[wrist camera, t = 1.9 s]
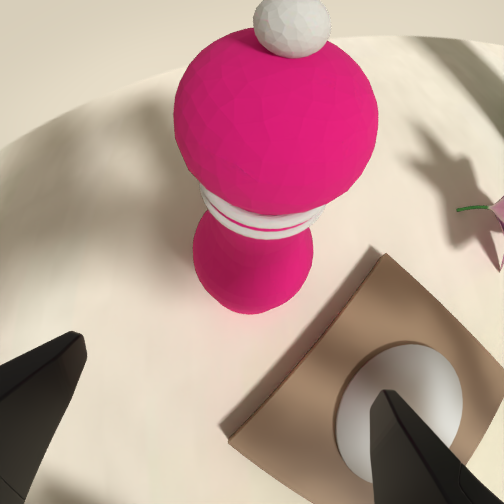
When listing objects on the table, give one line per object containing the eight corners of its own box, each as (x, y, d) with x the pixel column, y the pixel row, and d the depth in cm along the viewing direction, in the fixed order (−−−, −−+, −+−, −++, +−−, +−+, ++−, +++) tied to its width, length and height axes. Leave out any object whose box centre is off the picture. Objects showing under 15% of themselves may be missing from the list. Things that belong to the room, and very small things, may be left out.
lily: (455, 301, 25) (548, 295, 17) (422, 176, 24) (522, 147, 16) (485, 254, 31) (553, 244, 23) (459, 158, 30) (529, 138, 22)
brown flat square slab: (392, 542, 16) (400, 549, 14) (228, 439, 19) (227, 444, 18) (503, 379, 21) (514, 378, 20) (379, 257, 25) (388, 251, 23)
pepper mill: (316, 288, 24) (501, 73, 5) (231, 340, 22) (229, 172, 3) (264, 212, 26) (316, -50, 7) (182, 256, 24) (93, -12, 5)
